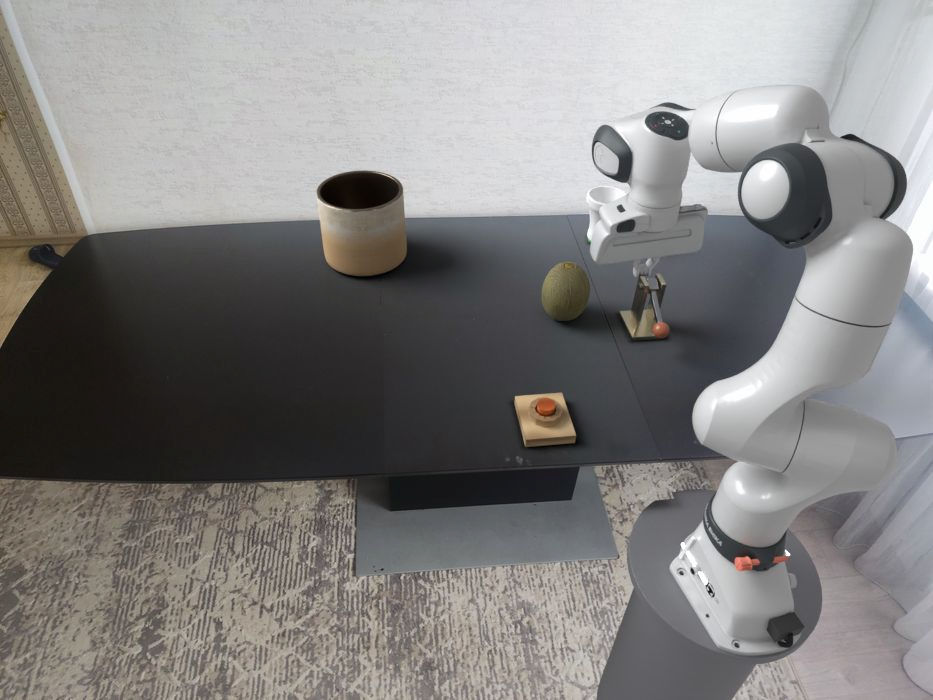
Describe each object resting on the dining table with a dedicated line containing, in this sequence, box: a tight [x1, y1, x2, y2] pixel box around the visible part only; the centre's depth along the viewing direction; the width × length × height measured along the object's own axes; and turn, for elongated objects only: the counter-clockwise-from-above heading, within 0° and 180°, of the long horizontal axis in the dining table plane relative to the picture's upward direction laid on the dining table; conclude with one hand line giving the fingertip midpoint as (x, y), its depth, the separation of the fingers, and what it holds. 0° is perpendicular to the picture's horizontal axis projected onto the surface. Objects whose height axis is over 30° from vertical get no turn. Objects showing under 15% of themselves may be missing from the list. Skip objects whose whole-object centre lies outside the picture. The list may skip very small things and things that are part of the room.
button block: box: [514, 392, 577, 448], centre depth 133 cm, size 12×10×4 cm
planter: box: [316, 169, 408, 277], centre depth 172 cm, size 22×22×20 cm
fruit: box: [541, 261, 591, 322], centre depth 156 cm, size 11×11×15 cm
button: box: [537, 398, 555, 417], centre depth 131 cm, size 4×4×2 cm
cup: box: [585, 185, 627, 244], centre depth 182 cm, size 11×11×14 cm
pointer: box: [646, 277, 671, 339], centre depth 148 cm, size 14×4×4 cm, turn 7°
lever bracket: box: [618, 273, 667, 342], centre depth 153 cm, size 10×8×14 cm
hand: (641, 274), depth 123 cm, fingers closed
